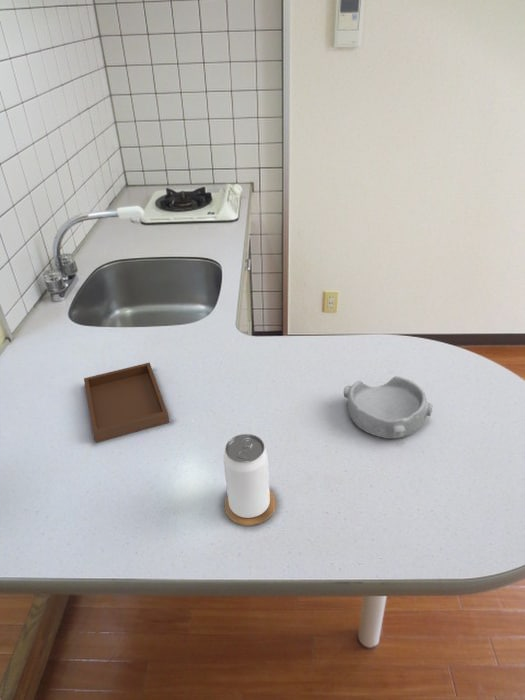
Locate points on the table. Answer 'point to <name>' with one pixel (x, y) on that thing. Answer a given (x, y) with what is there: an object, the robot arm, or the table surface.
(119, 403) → the tray
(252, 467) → the can
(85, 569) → the table surface
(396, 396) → the dish
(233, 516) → the coaster
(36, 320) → the table surface
